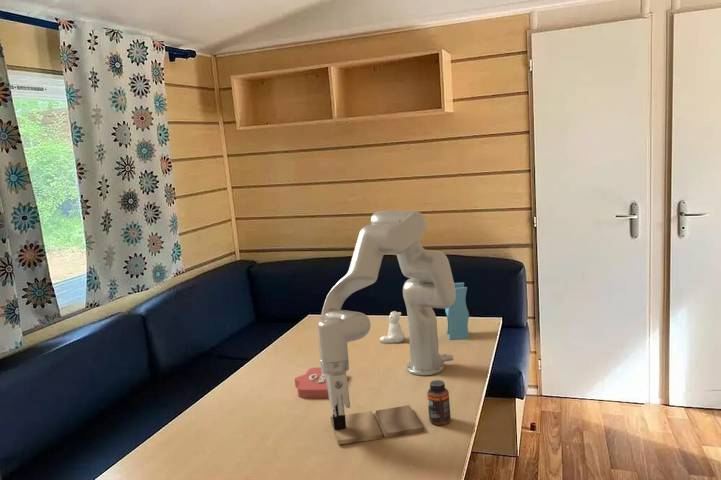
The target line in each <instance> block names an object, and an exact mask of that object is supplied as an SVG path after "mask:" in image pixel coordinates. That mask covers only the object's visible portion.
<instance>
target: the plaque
mask: <svg viewBox="0 0 721 480" xmlns="http://www.w3.org/2000/svg"><path fill="white" fill-rule="evenodd" d="M294 385H295V388H297V395H298V398H301V399H329V396H328V391H327V382H326V374H324V373H322V372H321V366H320V367H310V368H308V370H307V371H306V373H304V374H301V375H300V376H297V377H295V378H294Z"/></svg>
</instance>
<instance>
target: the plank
mask: <svg viewBox="0 0 721 480" xmlns="http://www.w3.org/2000/svg"><path fill="white" fill-rule="evenodd" d="M373 413H374V412H373V411H371V410H370V411H365V412H364V411H363V412H355V413H350V414H345V420H346V429H341V430H335V429H334V424H333V416H330V423H331V427H332V429H333V432H334V435H335V438H336V442H337V445H338V446H339V445H346V444H353V443H359V442H361V443H362V442H367V441H373V440H380V439H381V440H382V439H384V437H383V434H382V432H381V430H380V428H379V425H378V423H377V421H376V419H375V417H374V415H373Z"/></svg>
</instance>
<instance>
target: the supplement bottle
mask: <svg viewBox="0 0 721 480" xmlns="http://www.w3.org/2000/svg"><path fill="white" fill-rule="evenodd" d="M445 385H446V384H445V381H444V380H440V379H436V380H432V381H430V383H429V389H428V390H427V394H426V395H427V406H428V407H427V408H428V419H429V420H428V421H429V422H430V423H431V424H433V425H435V426H445V425H447V424H448V423H450V422H451V405H450V392H449V389H448V388H446V386H445Z"/></svg>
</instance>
